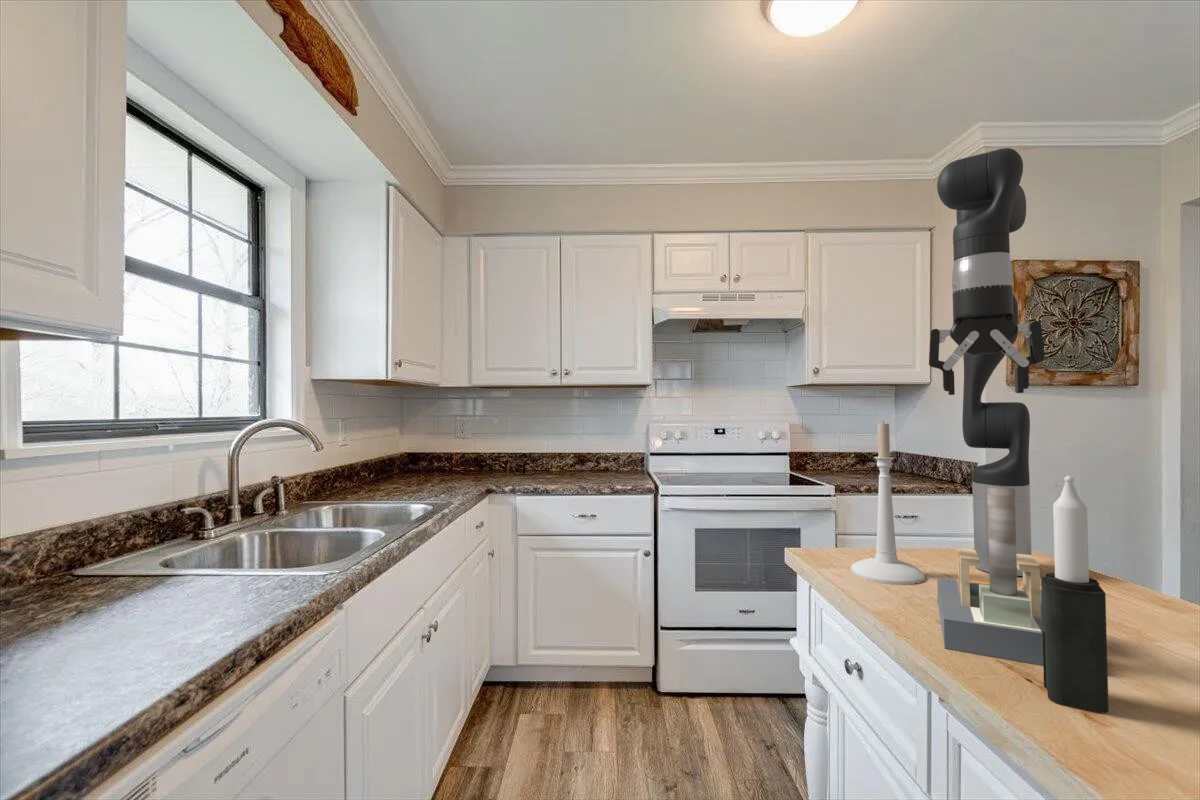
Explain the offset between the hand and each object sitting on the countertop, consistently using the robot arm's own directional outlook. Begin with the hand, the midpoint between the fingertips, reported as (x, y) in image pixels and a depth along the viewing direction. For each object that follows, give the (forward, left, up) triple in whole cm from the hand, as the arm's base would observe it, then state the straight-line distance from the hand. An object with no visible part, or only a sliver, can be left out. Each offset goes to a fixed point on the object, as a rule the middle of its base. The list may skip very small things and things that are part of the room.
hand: (984, 393), depth 83 cm
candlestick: (-19, -15, -35) cm, 43 cm away
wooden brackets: (+4, 0, -31) cm, 31 cm away
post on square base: (+10, +1, -31) cm, 32 cm away
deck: (+4, 0, -35) cm, 35 cm away
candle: (+22, +5, -35) cm, 41 cm away
